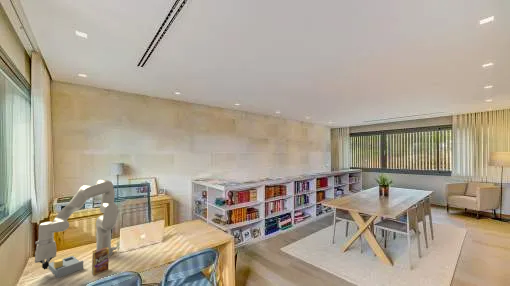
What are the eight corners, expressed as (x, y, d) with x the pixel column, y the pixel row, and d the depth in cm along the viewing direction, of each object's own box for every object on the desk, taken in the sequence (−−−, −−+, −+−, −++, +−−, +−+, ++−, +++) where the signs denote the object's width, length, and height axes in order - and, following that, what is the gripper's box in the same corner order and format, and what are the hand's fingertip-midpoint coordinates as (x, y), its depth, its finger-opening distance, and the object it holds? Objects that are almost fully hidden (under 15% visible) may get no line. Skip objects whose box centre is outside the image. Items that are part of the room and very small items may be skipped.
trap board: (72, 259, 170) (72, 252, 170) (83, 268, 158) (83, 260, 158) (48, 267, 159) (48, 259, 159) (57, 278, 146) (57, 269, 147)
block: (61, 264, 158) (61, 258, 158) (62, 266, 155) (62, 260, 156) (53, 266, 155) (53, 260, 155) (55, 268, 152) (55, 262, 152)
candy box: (93, 275, 150) (93, 252, 150) (91, 273, 152) (92, 250, 153) (108, 270, 156) (109, 248, 156) (106, 268, 159) (107, 246, 159)
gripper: (32, 246, 142) (31, 275, 142) (62, 238, 154) (61, 265, 154) (29, 243, 147) (28, 271, 146) (58, 236, 159) (58, 262, 158)
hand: (45, 268), depth 150 cm, fingers closed
